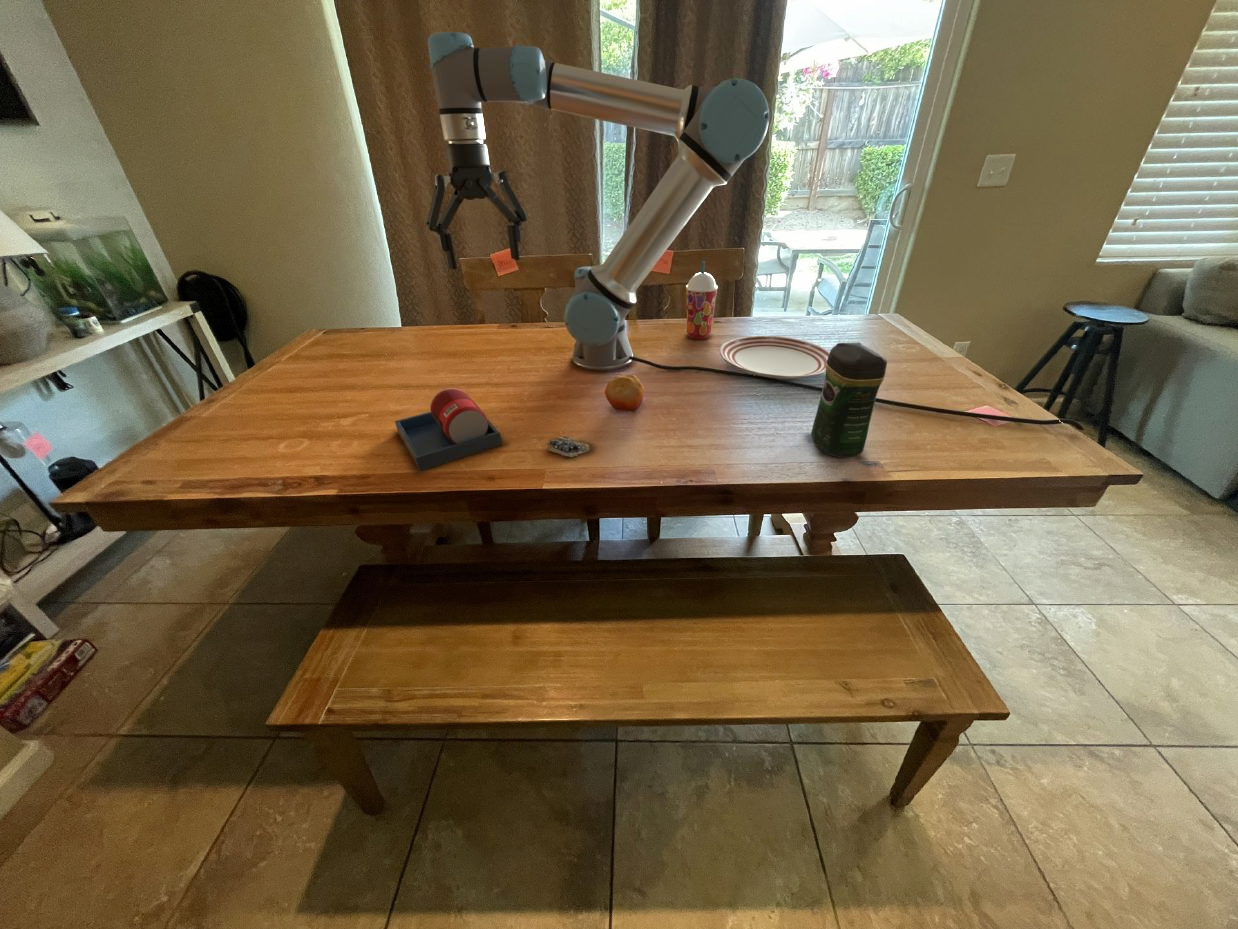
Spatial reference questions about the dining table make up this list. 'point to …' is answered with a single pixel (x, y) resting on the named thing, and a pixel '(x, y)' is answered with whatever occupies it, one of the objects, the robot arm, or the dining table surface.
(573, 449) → the grey mineral rock
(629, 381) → the fruit
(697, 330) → the smoothie
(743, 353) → the dinner plate
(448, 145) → the robot arm
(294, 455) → the dining table surface
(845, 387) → the coffee jar
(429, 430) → the tray
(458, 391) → the canned food
